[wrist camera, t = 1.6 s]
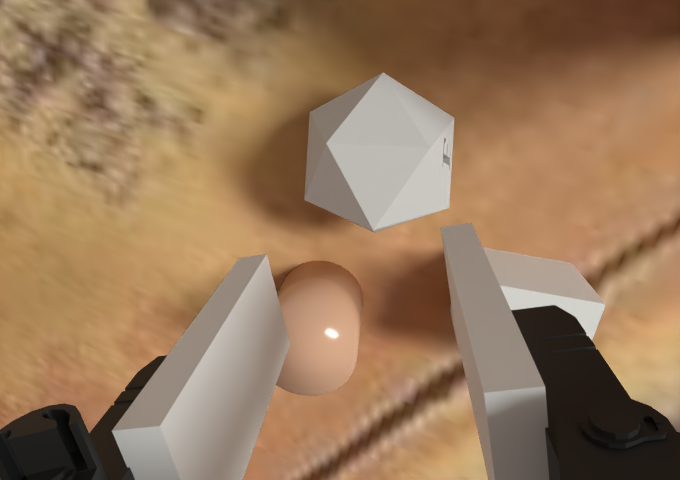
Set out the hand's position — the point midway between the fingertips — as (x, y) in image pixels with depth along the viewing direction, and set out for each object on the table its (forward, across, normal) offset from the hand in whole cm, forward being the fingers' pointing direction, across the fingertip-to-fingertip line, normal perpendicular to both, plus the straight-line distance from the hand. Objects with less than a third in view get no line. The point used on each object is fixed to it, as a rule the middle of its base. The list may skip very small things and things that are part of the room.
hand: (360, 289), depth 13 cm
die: (+21, 0, 0) cm, 21 cm away
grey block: (+21, -7, +11) cm, 25 cm away
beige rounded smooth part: (+21, +6, +10) cm, 24 cm away
